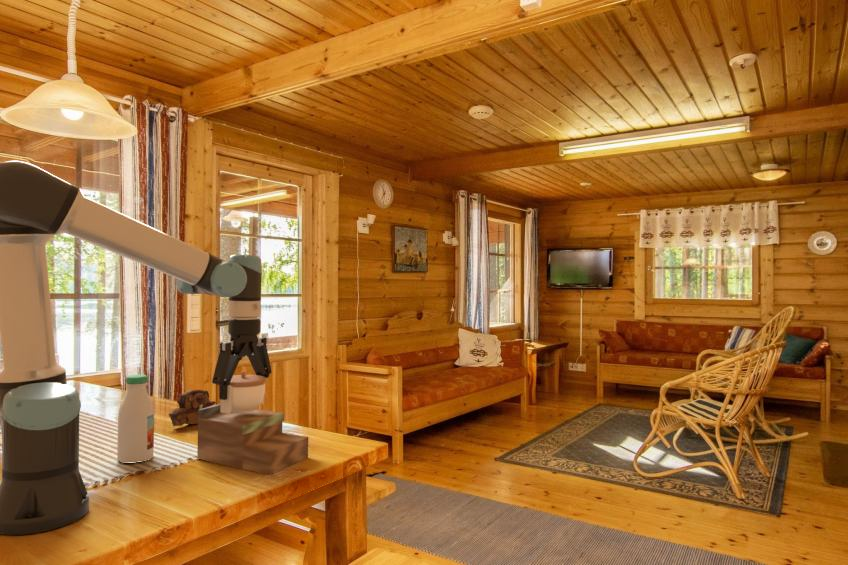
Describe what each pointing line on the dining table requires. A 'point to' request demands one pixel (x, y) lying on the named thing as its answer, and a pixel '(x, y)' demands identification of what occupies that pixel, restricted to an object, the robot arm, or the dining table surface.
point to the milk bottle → (135, 422)
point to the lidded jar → (247, 392)
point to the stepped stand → (248, 440)
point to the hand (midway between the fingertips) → (242, 408)
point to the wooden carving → (190, 407)
